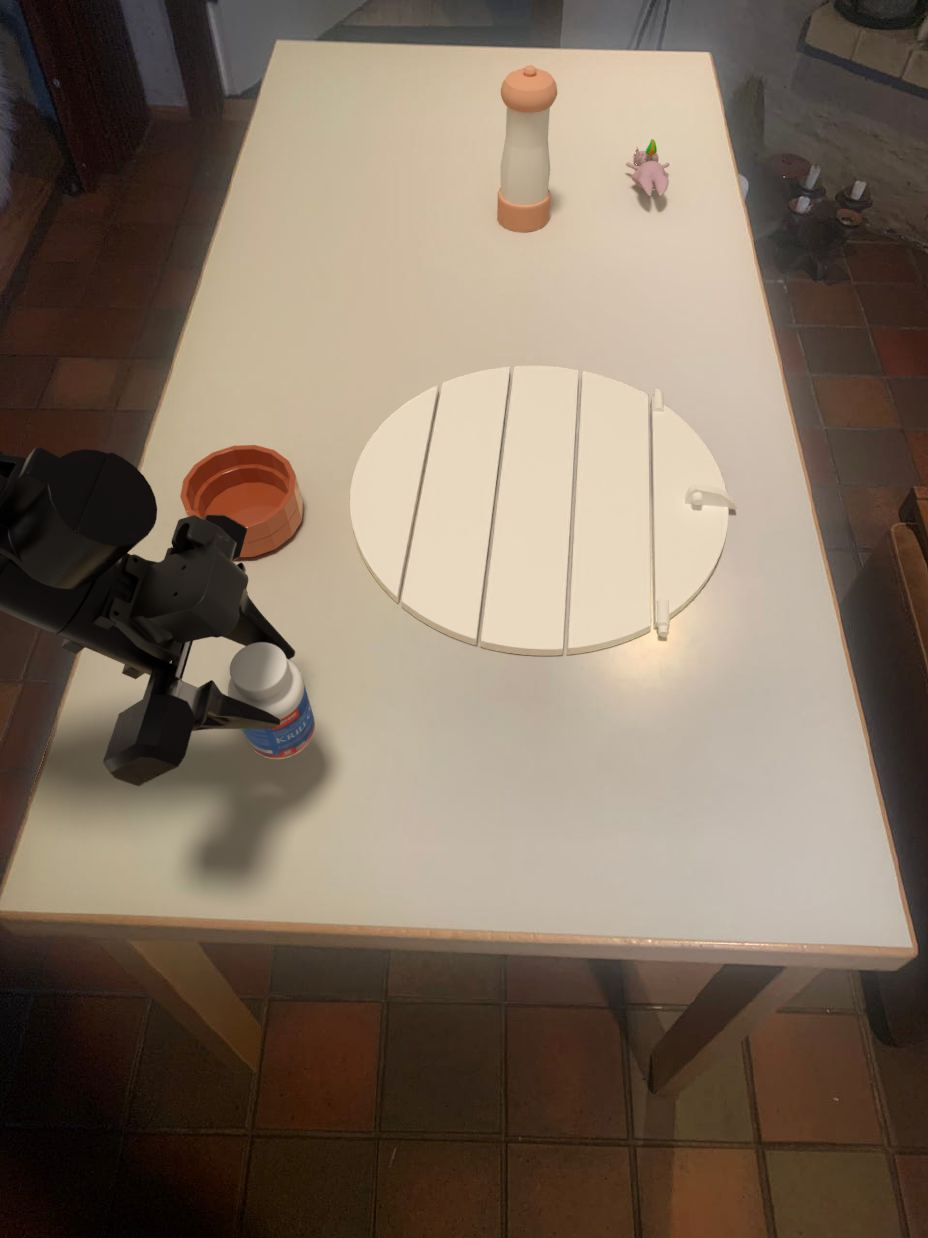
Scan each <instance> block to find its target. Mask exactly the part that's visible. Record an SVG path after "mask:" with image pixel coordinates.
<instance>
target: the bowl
mask: <svg viewBox="0 0 928 1238" xmlns="http://www.w3.org/2000/svg"><path fill="white" fill-rule="evenodd" d="M179 498H180V500H181V502H182V506H183V509H184V511H185V513H186V517H189V516H192V515H196V516H198V517H200V518H202V519H203V518H204V517H205V516H206V515H212V514H217V515H227V516H228V517H230V518H232V519H233V520H235V521H237V522H239V523H240V524H242V525H244V526H245V527H246V528H247V532H246V536H245V539H244V543H243V547H242V550H241V554H240V557H239V558H254V557H257V556H260V555H263V554H266V553H269V552H272V551H275V550H276V549H278V548H279V547H280V546H282V545H283V544H285V543H286V542H287V541H288V540H290V539H291V538H292V537H293V535H294V534H295V533H296V531H297V529H298V528H299V525H301V522H302V521H303V510H304V503H303V498H302V494H301V490H300V487H299V483H298V478H297V475H296V473H295V470H294V469H293V466H292V465H291V462H290V461H289V459H287V458H286V457H284V456H283V455H282V454H280V453H279V452H278V451H277V450H275V449H272V448H268V447H264V446H261V445H256V444H244V445H231V446H228V447H226V448H222V449H218V450H216V451H213V452H210V454H208V455H207V456H205V457H204V458H202V459H201V460H199V461H197V462H196V463H195V464H194V465H193V466H192V468H190V470H189V471H188V473H187V474H186V476H185V477H184V478H183V481H182V486H181V490H180V495H179Z"/></svg>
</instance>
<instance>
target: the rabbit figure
mask: <svg viewBox="0 0 928 1238" xmlns="http://www.w3.org/2000/svg"><path fill="white" fill-rule="evenodd" d="M635 152H636V154H635V153H634V154H633V156H632V158H633V164H632V163H631V162H629V161H628V162H626V163H625V166H626V167H628V168H631V169H633V170H635V171H634V172H633V173H632V174H631V180H632V181H633V183H635V184H636V185H637V187H639V188H641V189H642V188H643V189H642V190H644V192H645V193H646V195H647V196H648V197H651V196H652V194H653V191H656V192H657V194H658V196H659V197H662V196H663V195H664V193H665V192H666V191H667V188H668V187H669V183H670V181H669V174H668V173H667V172H666V170H665V169H666V168H668V167H670V163H669V162H665V163H664V164H661V163H660V162H659V154H658V153H657V152H658V148H657V144H656V140H654V139H653V138H652V139H651V140H650V141H649V144H648V145H647V147H646V149H645V150H640V149H639V148H638V146H636V149H635ZM635 163H636V164H637V165H636V164H635ZM653 189H655V190H653Z"/></svg>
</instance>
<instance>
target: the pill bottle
mask: <svg viewBox="0 0 928 1238" xmlns="http://www.w3.org/2000/svg"><path fill="white" fill-rule="evenodd" d="M229 675H230V678H229V681H228V686H227V696H229V697H231V698H234V699H237V700H239V701H242V702H244V703H247V704H249V705H252V706H254V707H257V708H259V709H262V710H264V711H266V712H268V713H270V714H272V715H273V716H275V717H277V718H279V719H280V720H281V723H280V725H279V726H277V727H275V728H273V729H241V730H242V732H243V735H244V737H245V738H246V741H247V742H248V744H249V746H250V748H251V749H252V750H253V751H254V752H255V753H257V754H258V755H260V756H261V757H263V758H266V759H269V760H284V759H288V758H291V757H293V756H295V755H297V754H299V753H301V752H302V751H303V750H304V749H305V748H306V747H307V746H308V745H309V743H311V741H312V739H313V736H314V734H315V730H316V729H315V728H316V722H315V716H314V713H313V710H312V706H311V703H310V700H309V695H308V692H307V688H306V685H305V682H304V678H303V675H302V673H301V671H300V669H299V668H298V666H297V665H296V664H295V663H294V662H293V661H292V660H291V659H287V658H286V656H285V654H284V652H283V651H282V650H281V649H280V648H279V647H277V646H276V645H273V644H270V643H265V642H259V643H253V644H250V645H248V646H244V647H242V648H241V649H239V650H238V651H237V652H236V653H235V655H234V656H233V657H232V659H231V662H230V665H229Z"/></svg>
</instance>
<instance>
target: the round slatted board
mask: <svg viewBox="0 0 928 1238" xmlns="http://www.w3.org/2000/svg"><path fill="white" fill-rule="evenodd" d="M579 373H580V371H579V369H575V368H567V367H562V366H561V367H560V366H549V365H515V366H513V371H512V380H511V387H510V397H509V404H508V411H507V412H508V413H507V420H506V421H507V422H506V429H505V436H504V445H503V453H502V461H501V469H500V479H499V487H498V493H497V494H498V495H497V503H496V512H495V518H494V519H495V520H494V527H493V536H492V543H491V552H490V562H489V567H488V569H489V570H488V578H487V585H486V593H485V602H484V611H483V619H482V628H481V635H480V648H483V649H487V650H492V651H494V652H495V651H496V652H500V653H507V654H514V655H523V656H537V657H538V656H539V657H550V656H553V657H555V656H563V653H564V652H563V651H564V641H565V639H564V638H565V622H566V606H567V605H566V604H567V601H566V600H567V586H568V585H567V584H568V571H569V570H568V569H569V568H568V567H569V550H570V535H571V534H570V533H571V517H572V515H571V514H572V499H573V498H572V497H573V496H572V495H573V482H574V481H573V479H574V466H575V465H574V463H575V444H576V429H577V428H576V427H577V410H578V409H577V408H578V391H579ZM510 378H511V366H501V367H494V368H490V369H489V368H488V369H483V370H480V371H475V372H471V373H468V374H463V375H460V376H457V377H454V378H451V379H449V380H445V381H444V382H442V383H441V388H440V391H439V384H437V385H435V386H432V387H430V388H428V389H426V390H424V391H423V392H421V393H419V394H417V395H416V396H414V397H412V398H410V399H409V400H408V401H406V402H404V404H403V405H401V406H400V407H399V408H397V409H396V410H395V411H394V412H392V414H390V415H389V416H388V417H387V418H386V419H385V420H384V421H383V422H382V423H381V424H380V425H379V427H377V429H376V430H375V431H374V433H373V434H372V435H371V436H370V438H369V439H368V441H367V443H366V444H365V446H364V448H363V450H361V451H362V452H361V453H360V455H359V457H358V459H357V462H356V465H355V467H354V470H353V474H352V478H351V483H350V489H349V515H350V522H351V526H352V527H351V528H352V532H353V536H354V540H355V544H356V546H357V549H358V552H359V554H360V556H361V558H362V560H363V562H364V564H365V566H366V568H367V569H368V571H369V572H370V574H371V575H372V577H373V578H374V580H375V581H376V582H377V584H378V585H379V586H380V587H381V588H382V590H383V591H384V592H385V593H386V594H387V595H388V596H389V597H390V598H391V599H392V600H393V601H394V602H395V603H396V604H399V602H400V603H401V608H402V609H403V610H404V611H406V612H407V613H409V614H410V615H411V616H412V617H414V618H416V619H417V620H419V621H420V622H422V623H423V624H425V625H427V626H429V627H430V628H432V629H434V630H435V631H437V632H440V633H442V634H443V635H446V636H448V637H451V638H453V639H455V640H458V641H460V642H464V643H465V644H469V645H472V646H476V647H477V644H478V643H477V642H478V634H479V626H480V619H481V618H480V617H481V610H482V603H483V595H484V593H483V592H484V587H485V586H484V585H485V579H486V571H487V562H488V554H489V546H490V538H491V530H492V522H493V515H494V507H495V506H494V505H495V499H496V498H495V497H496V490H497V483H498V482H497V481H498V475H499V466H500V458H501V451H502V443H503V433H504V426H505V419H506V409H507V402H508V393H509V386H510ZM439 392H440V393H439ZM579 396H580V400H579V414H578V416H579V417H578V418H579V419H578V433H577V435H578V437H577V454H576V470H575V471H576V473H575V492H574V494H575V495H574V510H573V528H572V547H571V566H570V584H569V585H570V586H569V605H568V621H567V622H568V623H567V639H566V655H578V654H585V653H591V652H595V651H600V650H605V649H609V648H611V647H615V646H618V645H621V644H624V643H627V642H630V641H632V640H635V639H636V638H639V637H641V636H643V635H645V634H647V633H649V632H650V629H651V627H652V619H653V630H655V629H658V630H657V631H658V634H657V635H658V636H659V637H661V638H665V637H667V636H668V635H669V630H668V629H669V628H670V625H671V623H670V620H671V619H672V618H673V617H675V616H676V615H678V613H680V612H681V611H682V610H683V609H684V608H686V606H688V605H689V603H691V602H692V600H694V598H695V597H696V596H697V595H698V594H699V593H700V592H701V591H702V589H703V588H704V586H705V585H706V583H707V582H708V580H709V579H710V578H711V575H712V574H713V572H714V570H715V568H716V566H717V564H718V561H719V559H720V556H721V554H722V551H723V549H724V545H725V541H726V538H727V534H728V528H729V515H730V514H729V513H730V512H729V509H736V510H737V509H738V503H737V500H736V498H735V497H734V496H732V495H731V494H730V493H728V492H727V488H726V485H725V480H724V478H723V475H722V472H721V470H720V468H719V466H718V464H717V463H718V462H717V461H716V459H715V457H714V456H713V454H712V452H711V451H710V449H709V448H708V446H707V444H706V443H705V442H704V440H702V438H701V437H700V435H698V433H697V432H696V431H695V430H694V429H693V427H691V426H690V425H689V424H688V423H687V422H686V421H685V420H684V418H682V417H680V416H679V414H677V413H676V412H675V411H673V410H672V409H671V408H669V407H668V406H666V405H665V403H664V402H665V401H664V392H663V391H662V389H661V388H655V389H654V390H653V394H652V397H651V399H650V407H649V395H648V394H647V393H646V392H643V391H642V390H639V389H638V388H636V387H633V386H631V385H629V384H626V383H625V382H622V381H619V380H615V379H614V378H610V377H608V376H605V375H601V374H598V373H594V372H590V371H585V370H582V371H581V379H580V395H579ZM437 403H438V404H437ZM436 408H437V409H436ZM649 410H650V415H649ZM435 413H436V414H435ZM649 416H650V417H649ZM434 418H435V420H434ZM649 421H650V422H649ZM649 423H650V424H649ZM649 425H650V426H649ZM649 427H650V428H649ZM649 434H650V435H649ZM431 435H432V436H431ZM429 444H430V447H429ZM428 450H429V452H428ZM427 455H428V457H427ZM650 471H651V472H650ZM424 472H425V474H424ZM650 475H651V477H650ZM423 476H424V478H423ZM650 479H651V495H650ZM422 480H423V481H422ZM421 486H422V487H421ZM420 492H421V493H420ZM419 496H420V498H419ZM650 496H651V505H650ZM418 502H419V504H418ZM417 507H418V509H417ZM650 507H651V509H650ZM416 512H417V514H416ZM650 512H651V513H650ZM415 517H416V519H415ZM650 519H651V520H650ZM414 524H415V525H414ZM413 529H414V530H413ZM412 534H413V536H412ZM411 539H412V541H411ZM410 543H411V546H410ZM651 543H652V544H651ZM651 546H652V548H651ZM651 549H652V551H651ZM409 550H410V551H409ZM651 552H652V553H651ZM408 554H409V556H408ZM651 555H652V581H651ZM407 559H408V561H407ZM406 565H407V567H406ZM405 570H406V572H405ZM404 575H405V577H404ZM403 580H404V581H403ZM403 582H404V583H403ZM651 582H652V584H651ZM402 585H403V588H402ZM651 585H652V590H651ZM401 591H402V593H401ZM400 596H401V599H400ZM652 614H653V615H652ZM652 616H653V617H652Z"/></svg>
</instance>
